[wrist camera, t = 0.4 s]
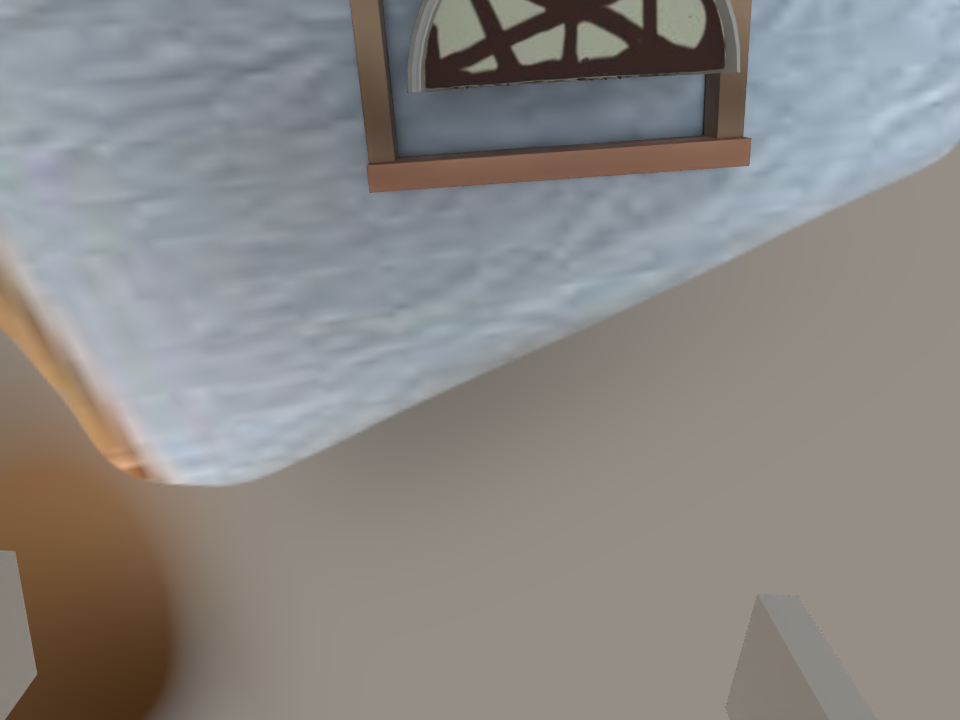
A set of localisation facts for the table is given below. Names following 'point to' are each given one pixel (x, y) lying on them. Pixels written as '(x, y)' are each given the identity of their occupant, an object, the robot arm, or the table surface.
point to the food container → (567, 41)
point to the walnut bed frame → (542, 163)
